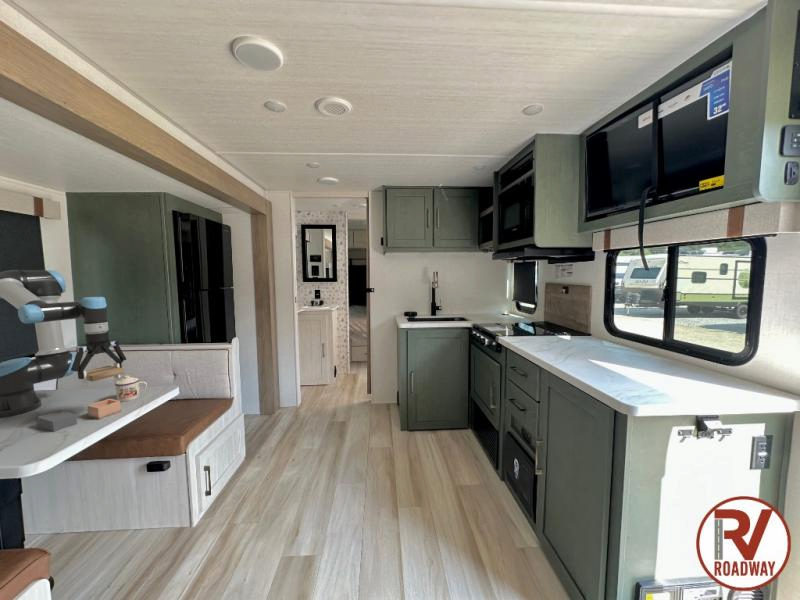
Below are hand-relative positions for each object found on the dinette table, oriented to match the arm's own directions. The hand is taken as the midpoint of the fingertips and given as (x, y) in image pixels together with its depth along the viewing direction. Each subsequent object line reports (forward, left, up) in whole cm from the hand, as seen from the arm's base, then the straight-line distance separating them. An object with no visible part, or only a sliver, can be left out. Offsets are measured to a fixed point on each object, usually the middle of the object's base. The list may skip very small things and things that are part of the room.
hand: (101, 381), depth 139 cm
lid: (0, 0, +2) cm, 2 cm away
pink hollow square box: (0, 0, -15) cm, 15 cm away
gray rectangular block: (-6, -13, -15) cm, 21 cm away
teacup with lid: (-10, +16, -15) cm, 24 cm away
